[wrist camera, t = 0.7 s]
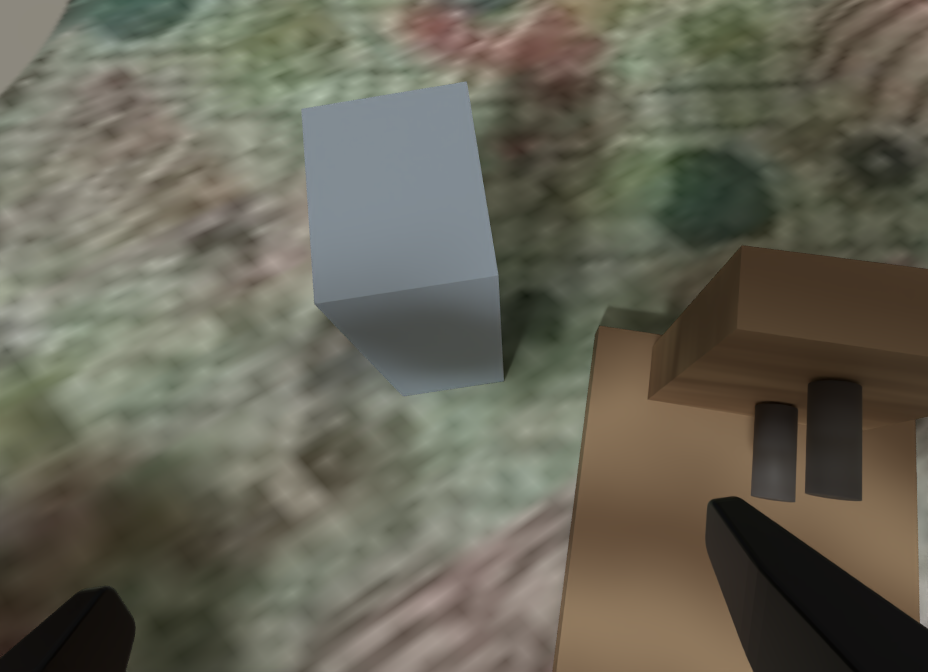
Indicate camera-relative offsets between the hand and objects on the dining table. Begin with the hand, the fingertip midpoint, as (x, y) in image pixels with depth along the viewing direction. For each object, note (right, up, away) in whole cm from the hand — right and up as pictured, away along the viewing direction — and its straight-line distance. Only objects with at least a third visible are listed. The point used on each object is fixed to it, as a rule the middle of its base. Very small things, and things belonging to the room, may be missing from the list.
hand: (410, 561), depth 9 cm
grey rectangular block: (0, +4, +15) cm, 16 cm away
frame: (+10, -6, +11) cm, 16 cm away
